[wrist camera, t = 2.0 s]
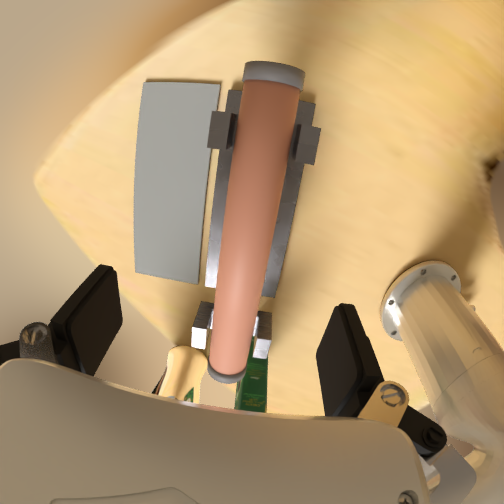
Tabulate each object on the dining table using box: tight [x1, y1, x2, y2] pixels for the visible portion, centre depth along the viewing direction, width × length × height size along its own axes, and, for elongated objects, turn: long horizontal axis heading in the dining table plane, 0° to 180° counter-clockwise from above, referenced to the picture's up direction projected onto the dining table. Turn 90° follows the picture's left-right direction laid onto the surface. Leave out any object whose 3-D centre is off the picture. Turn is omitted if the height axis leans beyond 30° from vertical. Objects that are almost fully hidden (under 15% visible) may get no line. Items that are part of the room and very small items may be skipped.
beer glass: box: [151, 346, 208, 404], centre depth 33 cm, size 7×7×15 cm
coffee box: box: [234, 336, 268, 413], centre depth 31 cm, size 8×3×13 cm, turn 170°
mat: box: [134, 82, 221, 285], centre depth 28 cm, size 8×22×1 cm, turn 171°
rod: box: [207, 61, 305, 384], centre depth 17 cm, size 22×3×3 cm, turn 171°
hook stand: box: [192, 90, 321, 359], centre depth 23 cm, size 8×21×13 cm, turn 171°
